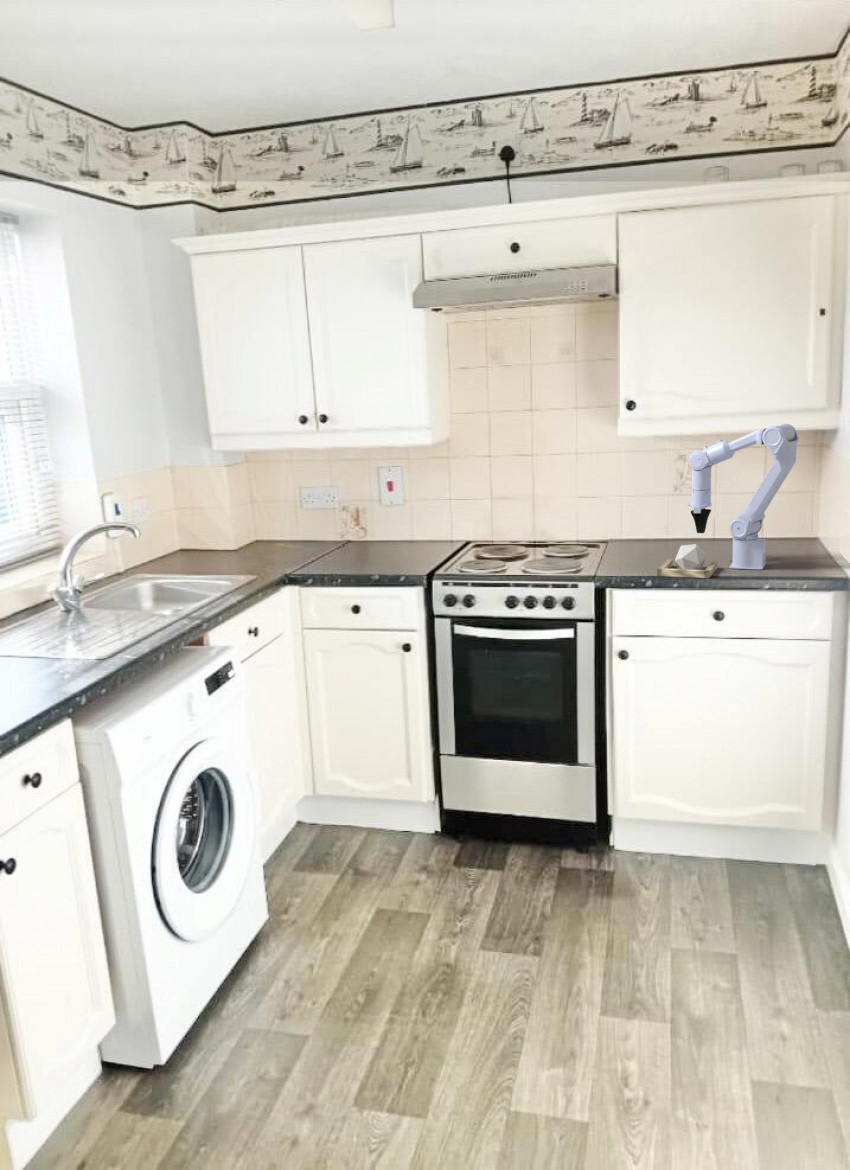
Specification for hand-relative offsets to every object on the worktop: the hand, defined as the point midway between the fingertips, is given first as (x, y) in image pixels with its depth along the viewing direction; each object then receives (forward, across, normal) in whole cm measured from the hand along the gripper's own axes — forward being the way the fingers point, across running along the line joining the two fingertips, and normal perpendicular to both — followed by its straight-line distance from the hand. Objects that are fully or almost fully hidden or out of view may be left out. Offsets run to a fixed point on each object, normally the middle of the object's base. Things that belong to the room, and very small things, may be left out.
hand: (700, 532), depth 282 cm
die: (+10, +12, -1) cm, 16 cm away
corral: (+9, +14, -1) cm, 17 cm away
